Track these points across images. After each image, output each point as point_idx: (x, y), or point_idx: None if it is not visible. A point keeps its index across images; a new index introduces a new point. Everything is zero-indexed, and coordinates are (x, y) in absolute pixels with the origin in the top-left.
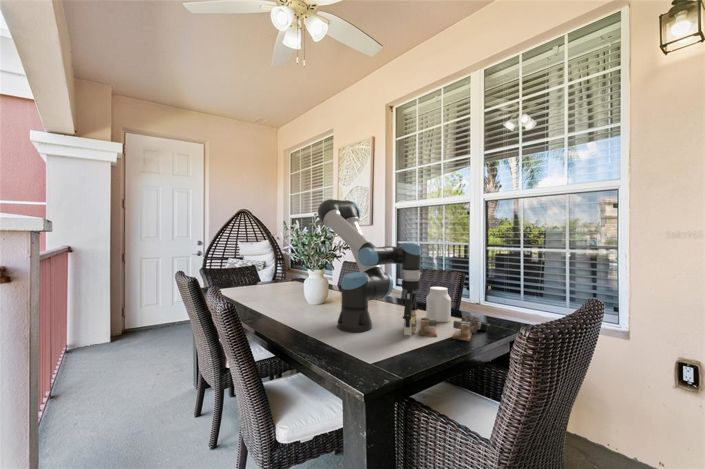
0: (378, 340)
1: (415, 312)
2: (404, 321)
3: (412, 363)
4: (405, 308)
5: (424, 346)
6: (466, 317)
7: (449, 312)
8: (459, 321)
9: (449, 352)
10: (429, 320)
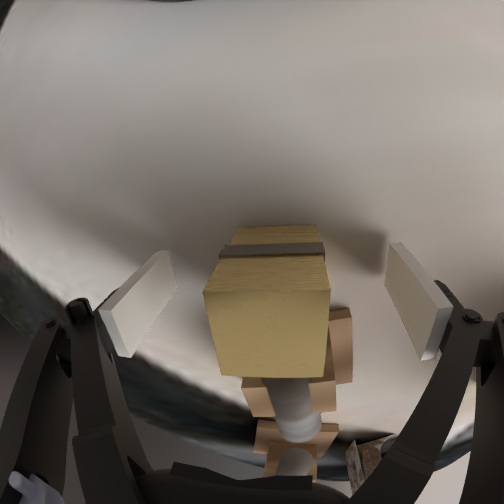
0: (57, 138)
1: (417, 350)
2: (218, 265)
3: (11, 304)
4: (24, 377)
5: None
6: (359, 485)
7: None
8: None
9: None
10: (276, 418)
